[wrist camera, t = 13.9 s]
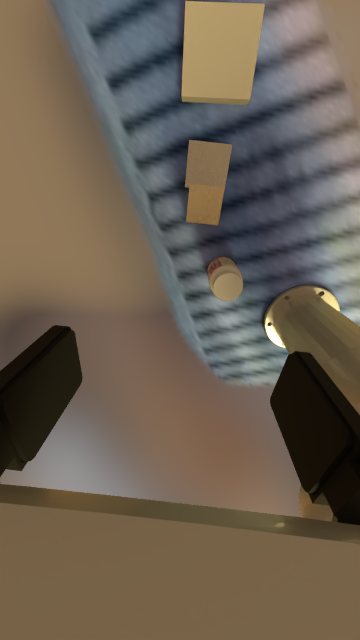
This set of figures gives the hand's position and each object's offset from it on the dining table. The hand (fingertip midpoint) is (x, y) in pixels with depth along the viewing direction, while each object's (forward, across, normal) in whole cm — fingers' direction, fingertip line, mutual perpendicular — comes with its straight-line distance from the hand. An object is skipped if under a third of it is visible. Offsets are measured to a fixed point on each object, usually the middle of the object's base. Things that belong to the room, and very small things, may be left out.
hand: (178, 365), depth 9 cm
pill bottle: (+28, -6, +3) cm, 29 cm away
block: (+28, -1, -18) cm, 33 cm away
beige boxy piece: (+28, -1, -9) cm, 30 cm away
